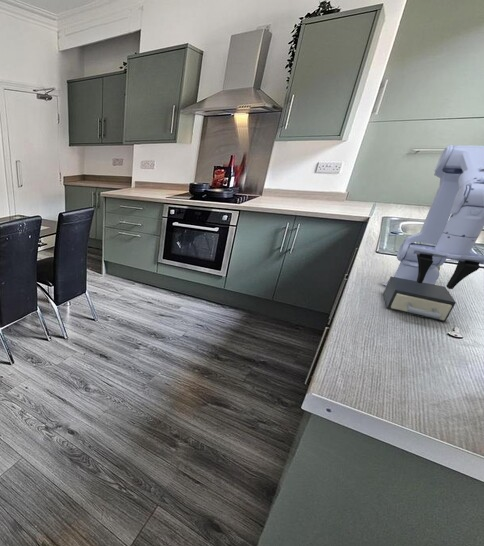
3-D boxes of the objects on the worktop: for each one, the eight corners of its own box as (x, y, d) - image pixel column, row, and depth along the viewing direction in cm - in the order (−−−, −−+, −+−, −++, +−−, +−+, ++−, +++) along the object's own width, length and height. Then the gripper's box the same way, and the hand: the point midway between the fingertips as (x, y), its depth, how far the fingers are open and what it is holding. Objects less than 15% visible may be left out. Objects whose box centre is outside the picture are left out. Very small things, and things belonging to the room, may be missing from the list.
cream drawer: (448, 328, 79) (457, 314, 77) (393, 315, 85) (399, 301, 83) (435, 304, 91) (442, 291, 89) (387, 294, 97) (392, 281, 95)
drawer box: (444, 322, 83) (456, 302, 81) (386, 308, 90) (395, 289, 88) (435, 305, 92) (445, 286, 90) (382, 293, 99) (390, 276, 97)
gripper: (420, 232, 77) (397, 282, 82) (513, 244, 68) (481, 298, 74) (415, 227, 82) (394, 274, 87) (502, 237, 73) (472, 288, 79)
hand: (433, 284), depth 81 cm, fingers open, 5 cm apart
